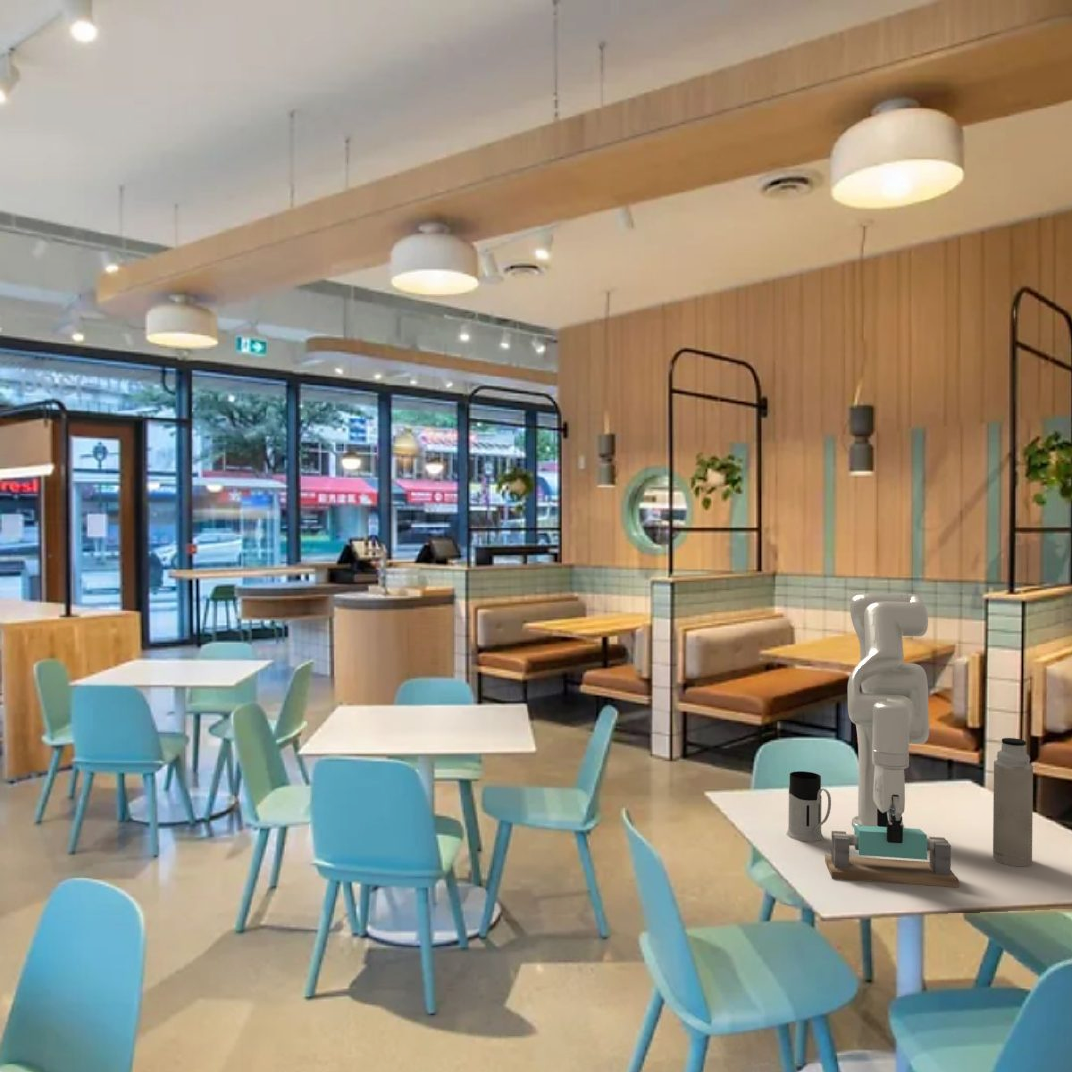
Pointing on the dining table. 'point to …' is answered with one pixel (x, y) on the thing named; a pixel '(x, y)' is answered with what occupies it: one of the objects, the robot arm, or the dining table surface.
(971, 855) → the dining table surface
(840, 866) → the shaft stand
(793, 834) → the glass holder
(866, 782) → the robot arm
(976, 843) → the dining table surface
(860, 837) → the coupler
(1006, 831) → the thermos bottle
